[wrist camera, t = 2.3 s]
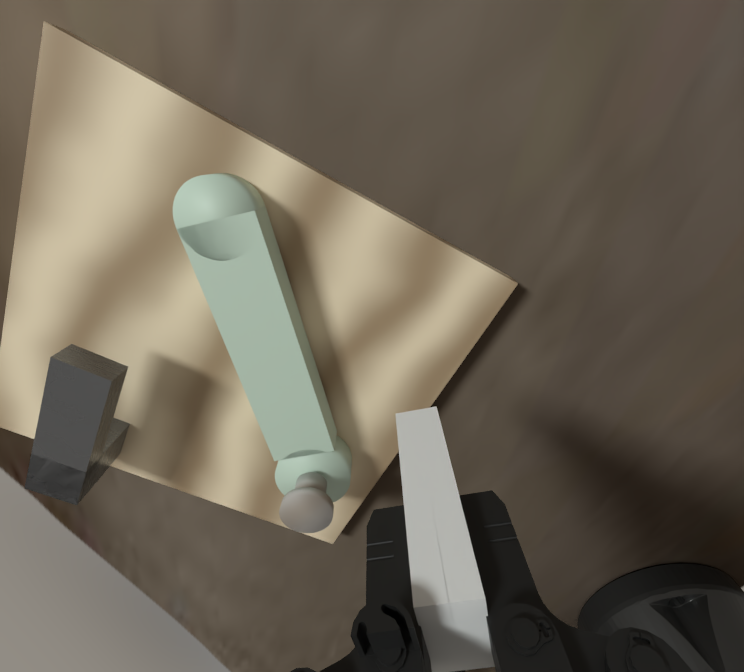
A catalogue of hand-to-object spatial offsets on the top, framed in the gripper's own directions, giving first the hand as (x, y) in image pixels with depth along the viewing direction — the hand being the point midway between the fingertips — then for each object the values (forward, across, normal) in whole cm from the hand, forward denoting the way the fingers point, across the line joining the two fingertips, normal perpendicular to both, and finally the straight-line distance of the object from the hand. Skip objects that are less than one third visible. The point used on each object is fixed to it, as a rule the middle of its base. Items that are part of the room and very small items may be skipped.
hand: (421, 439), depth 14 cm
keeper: (+10, +19, +1) cm, 22 cm away
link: (+10, +8, 0) cm, 12 cm away
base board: (+12, +11, 0) cm, 16 cm away
